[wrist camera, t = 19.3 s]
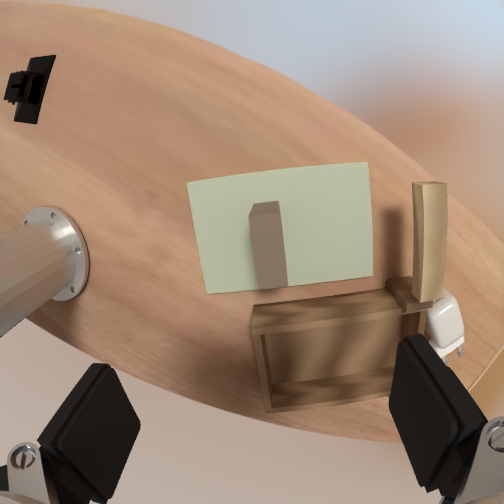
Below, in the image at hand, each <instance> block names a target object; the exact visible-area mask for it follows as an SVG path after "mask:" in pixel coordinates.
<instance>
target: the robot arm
mask: <svg viewBox="0 0 504 504" xmlns="http://www.w3.org/2000/svg"><path fill="white" fill-rule="evenodd" d="M88 271H89V258H88V252H87V247H86V244H85V241H84V238H83V236H82V234H81V232H80V230H79V228H78V226H77V225H76V224H75V222H74V221H73V219H72V218H71V217H70V216H69V215H68V214H67V213H65V212H64V211H62V210H61V209H59V208H56V207H54V206H42V207H38V208H36V209H33V210H32V211H31V212H29V213H28V214H27V216H26V217H25V218H24V220H23V222H22V224H21V226H20V227H18V228H15V229H12V230H10V231H7V232H4V233H2V234H0V338H1V337H2V336H3V335H4V334H6V333H7V332H8V331H9V330H11V329H12V328H13V327H14V326H16V325H17V324H18V323H19V322H21V321H22V320H23V319H24V318H26V317H27V316H28V315H30V314H31V313H32V312H34V311H35V310H36V309H38V308H39V307H40V306H42V305H43V304H44V303H46V302H47V301H48V300H50V299H53V300H56V301H66V300H69V299H71V298H73V297H75V296H76V295H77V294H78V293H79V292H80V291H81V290H82V289H83V287H84V285H85V283H86V281H87V277H88ZM389 410H390V413H391V415H392V417H393V420H394V422H395V425H396V427H397V429H398V432H399V434H400V437H401V439H402V442H403V444H404V447H405V449H406V452H407V454H408V457H409V460H410V462H411V465H412V467H413V470H414V473H415V475H416V478H417V481H418V483H419V485H420V486H421V487H423V486H425V488H426V491H427V493H428V492H431V491H434V490H436V489H439V491H440V494H441V496H442V498H441V500H440V503H439V504H504V417H497V418H494V419H492V420H490V421H489V422H488V420H487V419H486V417H485V416H484V414H483V413H482V411H481V410H480V408H479V407H478V405H477V404H476V402H475V401H474V400H473V398H472V397H471V395H470V394H469V393H468V391H467V390H466V388H465V387H464V386H463V384H462V383H461V381H460V380H459V379H458V377H457V376H456V375H455V373H454V372H453V371H452V369H451V368H450V367H448V366H446V364H445V363H444V362H443V360H442V359H441V358H440V356H439V355H438V354H437V353H436V351H435V350H434V349H433V347H432V346H431V345H430V344H429V342H428V341H427V340H426V338H425V337H424V336H423V335H422V334H421V333H418V334H414V335H410V336H405V337H404V338H403V340H402V342H399V343H398V346H397V354H396V361H395V368H394V375H393V381H392V387H391V392H390V398H389ZM140 426H141V425H140V420H139V418H138V416H137V415H136V413H135V411H134V409H133V407H132V405H131V403H130V401H129V399H128V397H127V395H126V393H125V391H124V389H123V387H122V385H121V383H120V380H119V378H118V376H117V374H116V372H115V370H114V369H113V368H111V366H110V365H109V364H104V363H93V364H92V365H91V366H90V367H89V368H88V370H87V371H86V372H85V374H84V375H83V376H82V378H81V379H80V380H79V382H78V383H77V384H76V386H75V387H74V388H73V390H72V391H71V392H70V394H69V395H68V397H67V398H66V399H65V401H64V402H63V403H62V405H61V406H60V408H59V409H58V410H57V412H56V413H55V415H54V416H53V417H52V419H51V420H50V422H49V423H48V425H47V426H46V427H45V429H44V430H43V432H42V433H41V435H40V436H39V438H38V439H37V441H38V442H39V444H40V445H41V447H40V448H38V447H37V446H36V445H35V444H33V443H30V442H24V443H20V444H18V445H16V446H15V447H14V448H13V449H12V450H11V451H10V453H9V455H8V458H7V465H4V466H1V467H0V504H89V502H90V500H92V501H93V502H96V503H100V504H106V503H107V501H108V499H110V498H112V496H113V494H114V491H115V489H116V486H117V484H118V481H119V479H120V476H121V474H122V471H123V469H124V466H125V464H126V462H127V459H128V457H129V454H130V452H131V450H132V447H133V445H134V442H135V440H136V438H137V435H138V433H139V430H140Z"/></svg>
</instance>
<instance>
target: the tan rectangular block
mask: <svg viewBox="0 0 504 504" xmlns="http://www.w3.org/2000/svg"><path fill="white" fill-rule="evenodd" d="M412 193H413V219H414V254H413V280H412V294H413V295H414V296H415V297H416V298H417V300H418V301H419V302H420V303H421V302H426V301H431V300H436V299H441V298H443V290H444V280H445V269H446V253H447V184H446V183H441V182H436V181H432V182H414V183H412Z"/></svg>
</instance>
